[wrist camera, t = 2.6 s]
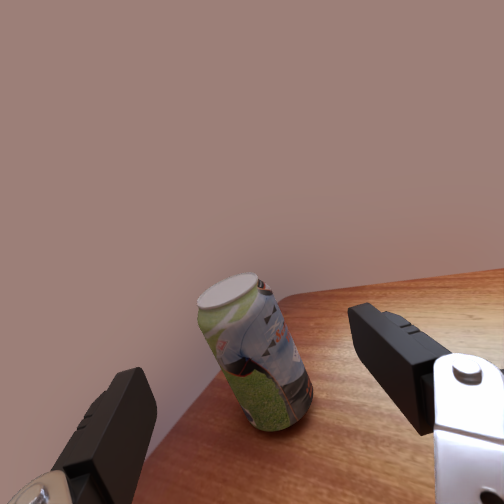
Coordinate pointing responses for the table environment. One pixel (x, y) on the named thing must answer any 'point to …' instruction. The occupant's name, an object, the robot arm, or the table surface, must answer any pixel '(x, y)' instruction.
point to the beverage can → (255, 351)
